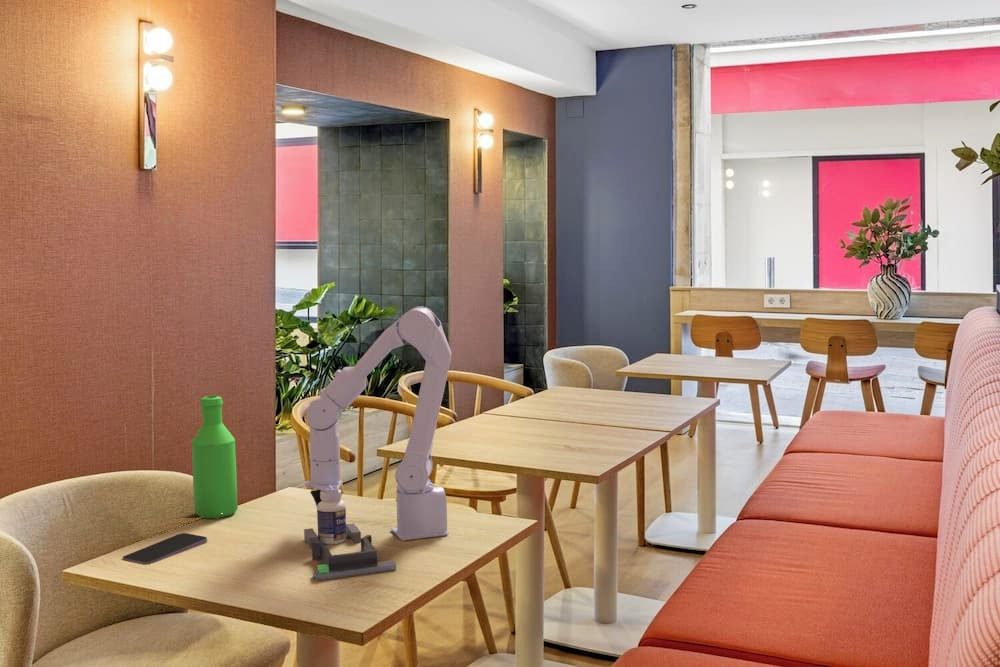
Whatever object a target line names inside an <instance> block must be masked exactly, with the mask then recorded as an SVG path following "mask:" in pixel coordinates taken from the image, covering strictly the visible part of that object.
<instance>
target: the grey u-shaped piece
mask: <svg viewBox="0 0 1000 667" xmlns="http://www.w3.org/2000/svg"><path fill="white" fill-rule="evenodd" d="M303 536H304V537H303V538H304V541H305V543H306V545H307V547H308V548H309V549H312V543H313V542H319V541H318V534H317V533H316V532H315V530H314V529H313V528H311V527H310V528H304V529H303ZM346 537H347V538H348V539H349V540H350V541H351V543H352V544H355V543H356V544H357V543H361V538H362V532H361V530H360V528H358V526H357V525H356V524H355V523H346Z"/></svg>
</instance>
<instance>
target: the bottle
mask: <svg viewBox="0 0 1000 667" xmlns="http://www.w3.org/2000/svg"><path fill="white" fill-rule="evenodd" d="M222 398H223V397H222V396H218V395H207V396H203V397H202V398H201V399H200V404H199V406H200V407H202V410H201V411H202V412H201V413H202V425H201V426H200V427H199V430H198V432H197V433H196V434H195V436H194V437H193V438H192V441H191V460H192V462H191V463H192V466H191V467H192V483H193V504H194V505H193V506H194V514H196V515H197V516H198V517H200V518H202V519H207V518H209V519H211V518H214V519H222V518H227V517H229V516H232V515H233V514H235V513H236V511H237V510H238V507H239V506H238V483H237V482H238V481H237V480H238V479H237V461H236V460H237V457H236V439H235V437H234V436H233V434H231V432H230V431H229V430H228V429H227V426H226V425H224V423H223V414H222V413H223V412H222V410H223V409H222V406H223V404H224V402H223V399H222ZM221 513H223V514H221ZM225 516H226V517H225ZM221 517H222V518H221Z"/></svg>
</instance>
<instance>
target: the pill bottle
mask: <svg viewBox="0 0 1000 667" xmlns="http://www.w3.org/2000/svg"><path fill="white" fill-rule="evenodd" d="M341 492H342V489H341V488H339V489H338V493H339V499H331V500H328V497H327V493H326V492H324V491H321V492H320V498H321V500H322V501H321V502H319V503H318V505H317V506H316V515H317V516H316V518H317V536H318V542H322V543H326V545H338V544H342V543H343V542H346V540H347V535H346V524H347V511H346V509H347V508H346V507H347V506H346V503H345V501H343V500H342V498H343V497H342V496H343V493H342V494H341Z"/></svg>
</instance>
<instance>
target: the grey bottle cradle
mask: <svg viewBox="0 0 1000 667" xmlns="http://www.w3.org/2000/svg"><path fill="white" fill-rule="evenodd" d="M372 542H373V541H372V534H371V535H370V534H367V535H364V536H363V537H361V542H360V551H356V552H355V551H354V552H348V553H341V554H332V553H331V551H330V550H329V548H328V547H327V544H326V543H322V542H319V541H318V542H313V543H312V548H311V554H312V555H311V558H312V560H319V561H320V562H321V564H318V565H317V570H313V571H312V573H313V574H312V575H313V579H314V580H315V582H319V581H326V580H334V579H341V578H348V577H354V576H361V575H367V574H376V573H382V572H383V573H384V572H390V571H396V570H397V563H396V562H395V561H394V560H392V559H390V560H384V561H378V549H376V547H374V545H373V543H372Z"/></svg>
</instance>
